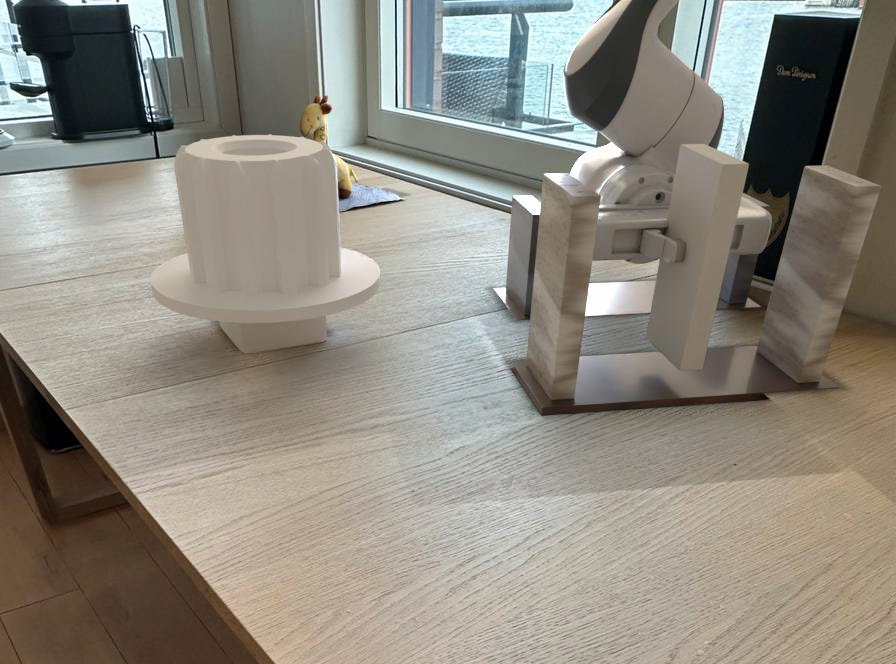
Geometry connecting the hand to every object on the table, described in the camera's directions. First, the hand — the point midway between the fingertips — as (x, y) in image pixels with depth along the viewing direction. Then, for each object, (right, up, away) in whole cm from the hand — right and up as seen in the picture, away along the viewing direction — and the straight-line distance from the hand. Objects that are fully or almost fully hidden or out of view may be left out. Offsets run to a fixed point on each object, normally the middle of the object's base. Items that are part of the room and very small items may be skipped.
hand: (698, 253), depth 80 cm
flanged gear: (-43, -1, +19) cm, 47 cm away
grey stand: (0, +6, +27) cm, 28 cm away
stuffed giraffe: (-40, +41, +70) cm, 91 cm away
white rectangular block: (0, -7, +7) cm, 10 cm away
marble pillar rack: (0, -9, +9) cm, 13 cm away
